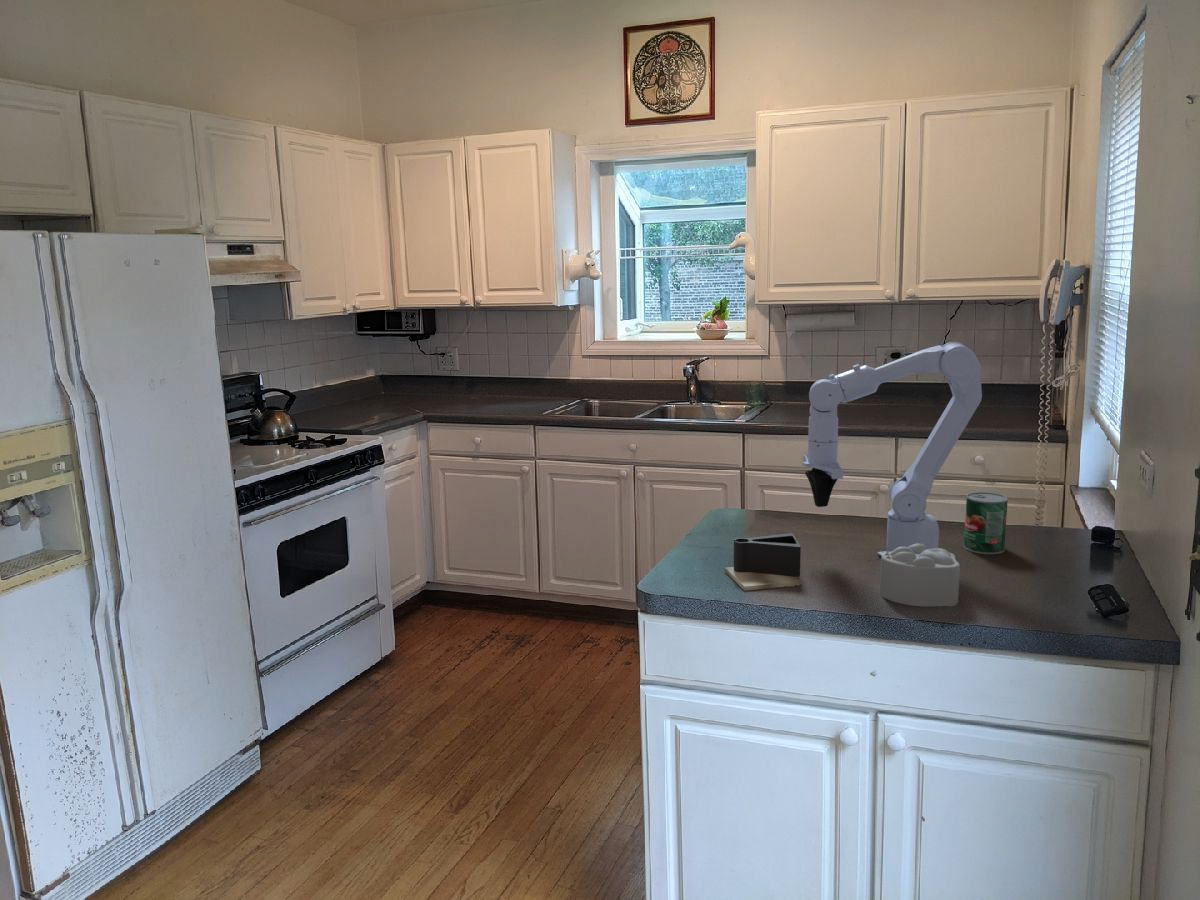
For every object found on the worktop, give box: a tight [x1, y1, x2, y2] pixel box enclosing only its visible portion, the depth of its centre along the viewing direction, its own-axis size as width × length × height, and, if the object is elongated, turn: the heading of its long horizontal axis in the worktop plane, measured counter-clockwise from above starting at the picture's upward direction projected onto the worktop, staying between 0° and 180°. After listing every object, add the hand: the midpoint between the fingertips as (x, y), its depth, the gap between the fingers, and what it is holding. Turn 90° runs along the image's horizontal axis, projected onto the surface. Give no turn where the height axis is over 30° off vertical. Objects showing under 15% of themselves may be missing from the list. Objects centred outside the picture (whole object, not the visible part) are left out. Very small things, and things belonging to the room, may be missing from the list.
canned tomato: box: [963, 491, 1009, 555], centre depth 192 cm, size 8×8×11 cm
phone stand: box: [733, 532, 802, 578], centre depth 180 cm, size 9×6×12 cm
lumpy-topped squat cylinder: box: [879, 543, 961, 608], centre depth 167 cm, size 10×13×9 cm
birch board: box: [724, 566, 801, 592], centre depth 179 cm, size 11×11×1 cm
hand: (821, 505), depth 189 cm, fingers closed
